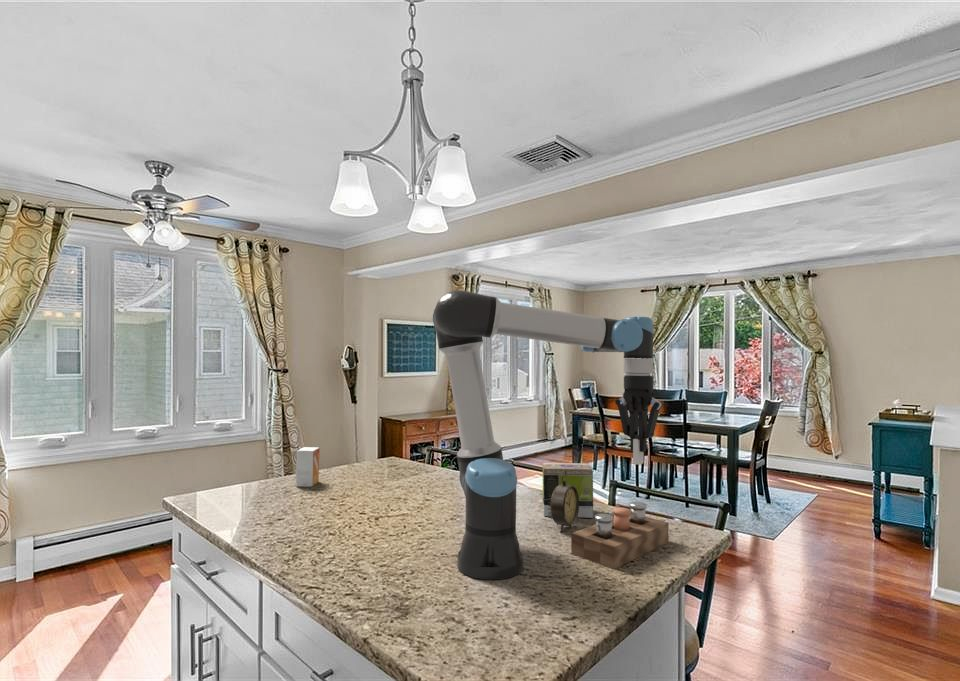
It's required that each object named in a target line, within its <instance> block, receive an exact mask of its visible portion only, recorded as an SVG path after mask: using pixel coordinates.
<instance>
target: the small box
mask: <svg viewBox="0 0 960 681" xmlns="http://www.w3.org/2000/svg"><path fill="white" fill-rule="evenodd" d="M320 449H321V448H320V447H318V446H316V447H315V446H314V447H313V446H312V447H311V446H309V447H308V446H304V447H302V448H300V449H298V450H296V463H295V464H296V465H295V487H297V488H298V487H304V488H305V487H309V488H310V487H314V485H316V484H318V482H319V480H320V479H319V477H320V476H319V475H320Z"/></svg>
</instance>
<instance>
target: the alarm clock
mask: <svg viewBox="0 0 960 681" xmlns="http://www.w3.org/2000/svg"><path fill="white" fill-rule="evenodd" d="M564 471H565V470H564ZM564 471H563V473H564ZM563 473H562V482H563V485H558V486H557V487H556V488H555V489H554V491H553V494H552V497H551V505H550V508H551V515H552V516H551V519H552V520H553V522H554V523H555V524H556V526H560V532H559V533H560V534H562V533H563V530H564V527H565V526H566V527H572V526H573V525H574V524H576V522H577V519H578V517H577V516H578V512H579V496H578V492H577V490H576V488H575V487H574V486H569V485H566V483H565V482H566V481H565V480H566V476H567V474H566V471H565V474H566V476H565V480H563Z"/></svg>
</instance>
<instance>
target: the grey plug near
mask: <svg viewBox="0 0 960 681" xmlns="http://www.w3.org/2000/svg"><path fill="white" fill-rule="evenodd" d="M613 518H614V515H612V514H608V513H596V514H595V515H594V520H595V524H596V537H599V538H603V539H606V540H608V539H610V538H612V522H613Z"/></svg>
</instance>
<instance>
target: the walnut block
mask: <svg viewBox="0 0 960 681" xmlns="http://www.w3.org/2000/svg"><path fill="white" fill-rule="evenodd" d="M570 534H571V540H570V543H571V546H570V549H571V551H570V552H571V553H570V554H571V555H573V556H576V557H579V558H582V559H585V560H588V561H589V562H593V563H596V564H598V565H600V566H601V565H602V566H603V567H604V566H605V567H607V568H610V569H613V570H616V569H618V568H619V567H621V566H623V565H625V564H628V563H629V562H631V561H634V560H636V559H637V558H640V557H641V556H643V555H645V554H648V553H649V552H652V551H653V550H655V549H657V548H659V547H661V546H663V545H665V544H667V543H669V522H667V521H664V520H660V519H655V518H652V517H649V516H645V524H643V525H639V524H635V523H631V522H630V515H629V531H627V532H622V531H619V530H615V529H614V517H613V522H612V538H610V539H608V540H606V539H603V538H599V537H596V523H595V524H593V525H589V526H587V527H584V528H582V529H579V530H577V531H576V530H575V531H574V532H571V533H570Z"/></svg>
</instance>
